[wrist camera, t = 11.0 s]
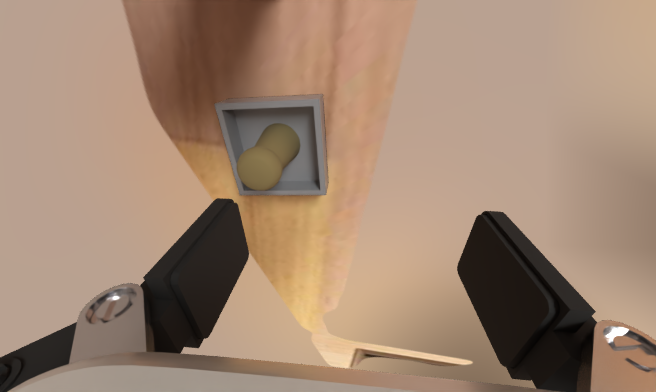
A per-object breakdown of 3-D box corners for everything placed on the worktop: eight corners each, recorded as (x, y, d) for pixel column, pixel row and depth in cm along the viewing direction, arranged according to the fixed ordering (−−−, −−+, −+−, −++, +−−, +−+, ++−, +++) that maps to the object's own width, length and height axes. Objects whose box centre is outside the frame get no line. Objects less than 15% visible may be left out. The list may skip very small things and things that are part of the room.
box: (228, 98, 34) (214, 103, 31) (322, 94, 33) (319, 98, 29) (249, 183, 41) (239, 195, 38) (328, 182, 40) (326, 195, 36)
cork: (268, 165, 38) (240, 202, 29) (254, 127, 35) (218, 154, 26) (305, 158, 37) (288, 194, 28) (293, 119, 34) (271, 144, 25)
